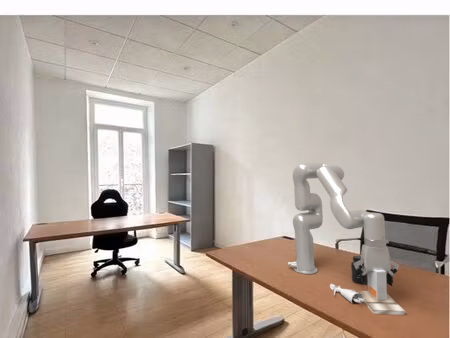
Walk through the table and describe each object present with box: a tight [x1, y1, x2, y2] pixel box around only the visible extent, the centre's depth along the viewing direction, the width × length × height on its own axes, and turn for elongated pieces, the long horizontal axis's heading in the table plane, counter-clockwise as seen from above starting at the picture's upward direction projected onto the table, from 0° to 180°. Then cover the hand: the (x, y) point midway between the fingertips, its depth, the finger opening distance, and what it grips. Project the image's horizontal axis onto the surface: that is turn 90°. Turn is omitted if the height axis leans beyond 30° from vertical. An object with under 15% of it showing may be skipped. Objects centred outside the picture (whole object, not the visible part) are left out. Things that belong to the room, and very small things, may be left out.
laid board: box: [367, 303, 406, 316], centre depth 93 cm, size 11×5×2 cm, turn 82°
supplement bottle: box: [350, 255, 368, 286], centre depth 119 cm, size 7×7×12 cm
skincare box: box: [367, 270, 388, 301], centre depth 101 cm, size 6×4×12 cm
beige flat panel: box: [358, 290, 397, 306], centre depth 101 cm, size 11×8×2 cm
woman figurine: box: [329, 282, 365, 304], centre depth 105 cm, size 12×4×18 cm
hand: (377, 284), depth 101 cm, fingers open, 9 cm apart
